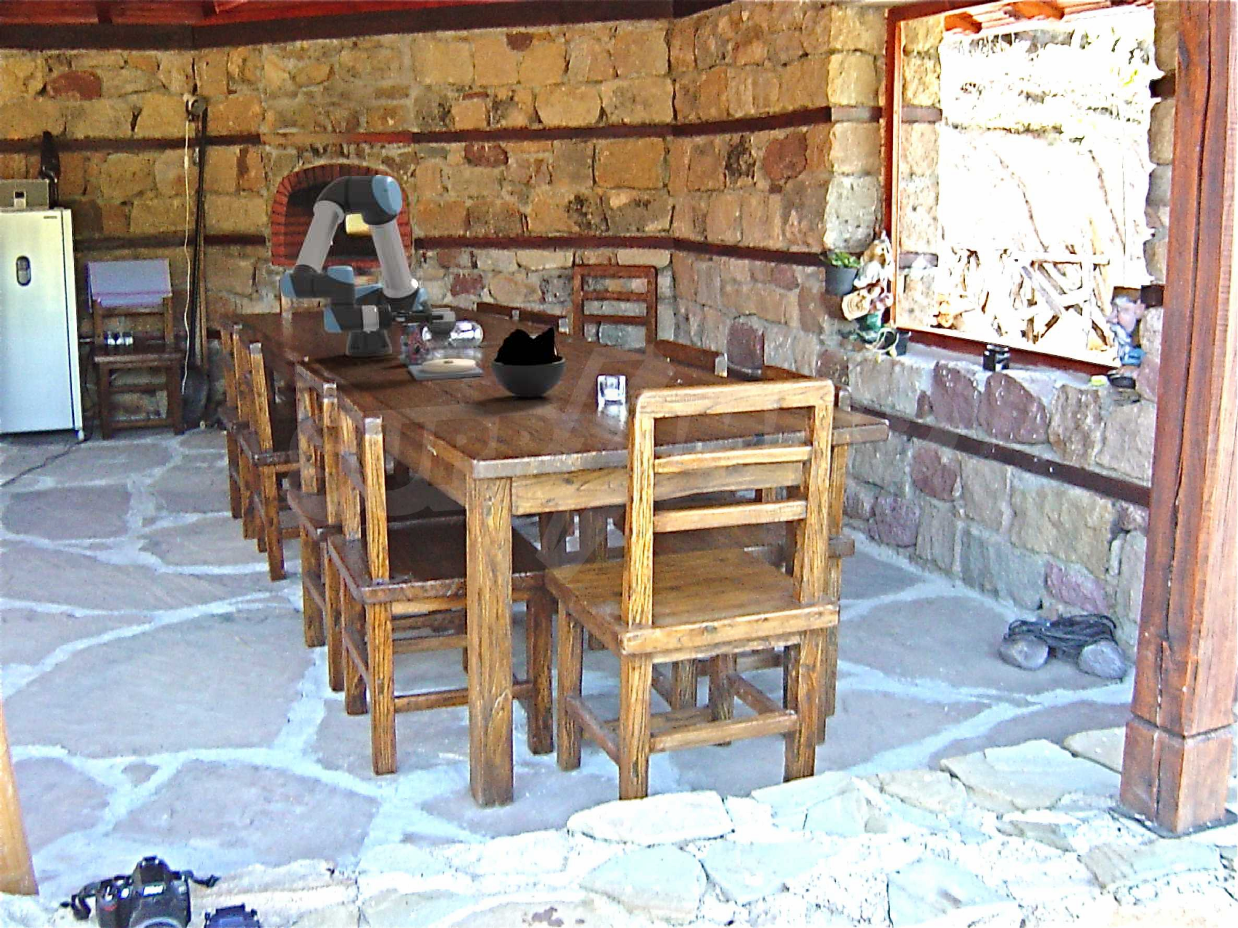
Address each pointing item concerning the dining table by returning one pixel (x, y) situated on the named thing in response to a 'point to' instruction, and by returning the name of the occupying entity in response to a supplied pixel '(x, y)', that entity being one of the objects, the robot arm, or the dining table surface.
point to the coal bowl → (528, 363)
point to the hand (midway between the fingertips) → (452, 314)
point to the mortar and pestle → (438, 324)
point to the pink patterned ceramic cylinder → (414, 350)
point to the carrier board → (441, 376)
